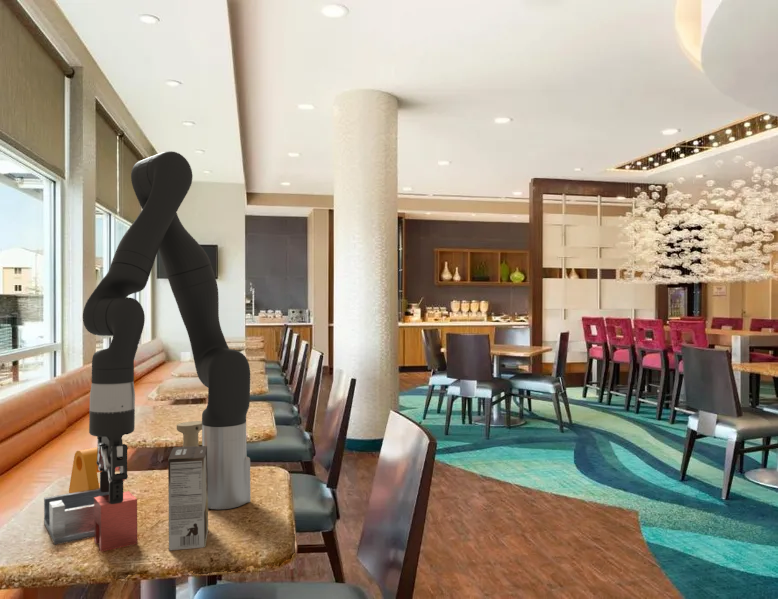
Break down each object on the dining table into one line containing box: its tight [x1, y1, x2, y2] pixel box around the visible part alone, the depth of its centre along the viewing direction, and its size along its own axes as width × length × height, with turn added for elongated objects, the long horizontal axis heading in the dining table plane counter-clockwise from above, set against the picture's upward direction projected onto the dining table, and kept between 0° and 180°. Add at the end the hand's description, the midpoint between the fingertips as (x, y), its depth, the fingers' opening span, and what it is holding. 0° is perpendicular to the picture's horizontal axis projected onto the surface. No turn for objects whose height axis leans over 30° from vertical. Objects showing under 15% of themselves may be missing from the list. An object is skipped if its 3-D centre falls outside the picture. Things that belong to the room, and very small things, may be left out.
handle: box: [176, 420, 202, 447], centre depth 145 cm, size 5×6×15 cm
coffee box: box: [167, 445, 209, 551], centre depth 113 cm, size 9×6×16 cm
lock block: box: [93, 490, 138, 553], centre depth 112 cm, size 6×6×8 cm
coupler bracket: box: [43, 488, 109, 546], centre depth 120 cm, size 12×14×6 cm
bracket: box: [68, 446, 102, 494], centre depth 135 cm, size 11×7×12 cm, turn 49°
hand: (111, 497), depth 112 cm, fingers open, 8 cm apart
